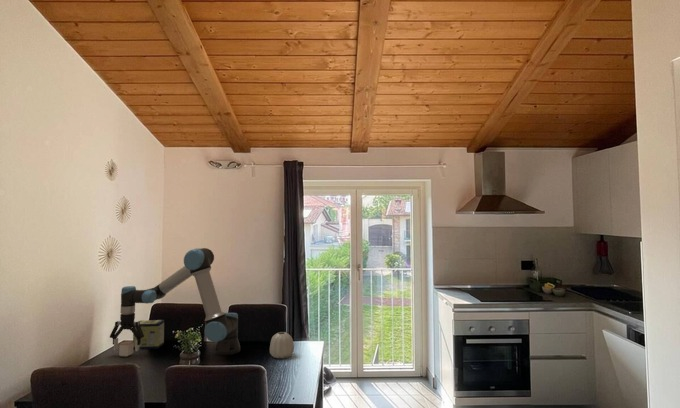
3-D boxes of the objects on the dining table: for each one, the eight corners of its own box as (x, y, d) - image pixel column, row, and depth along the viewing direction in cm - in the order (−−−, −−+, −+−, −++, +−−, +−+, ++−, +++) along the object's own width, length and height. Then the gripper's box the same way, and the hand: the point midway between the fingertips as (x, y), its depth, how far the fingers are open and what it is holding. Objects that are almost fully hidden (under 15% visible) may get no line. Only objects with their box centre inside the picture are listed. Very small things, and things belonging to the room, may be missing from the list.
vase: (281, 351, 233) (281, 328, 234) (298, 355, 225) (298, 332, 226) (264, 357, 222) (264, 333, 223) (281, 362, 214) (282, 337, 215)
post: (129, 355, 227) (130, 343, 227) (126, 357, 224) (127, 344, 225) (125, 355, 227) (125, 343, 228) (122, 356, 224) (123, 344, 225)
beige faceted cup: (133, 353, 228) (133, 341, 229) (127, 356, 223) (128, 344, 223) (124, 353, 228) (125, 341, 229) (119, 355, 223) (119, 344, 224)
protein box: (138, 344, 249) (139, 320, 250) (164, 344, 251) (164, 319, 252) (132, 349, 239) (132, 324, 240) (158, 348, 240) (159, 323, 241)
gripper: (151, 312, 230) (150, 348, 228) (112, 311, 232) (110, 347, 231) (143, 314, 223) (142, 352, 221) (103, 314, 225) (102, 351, 223)
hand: (126, 350), depth 226 cm, fingers open, 13 cm apart
